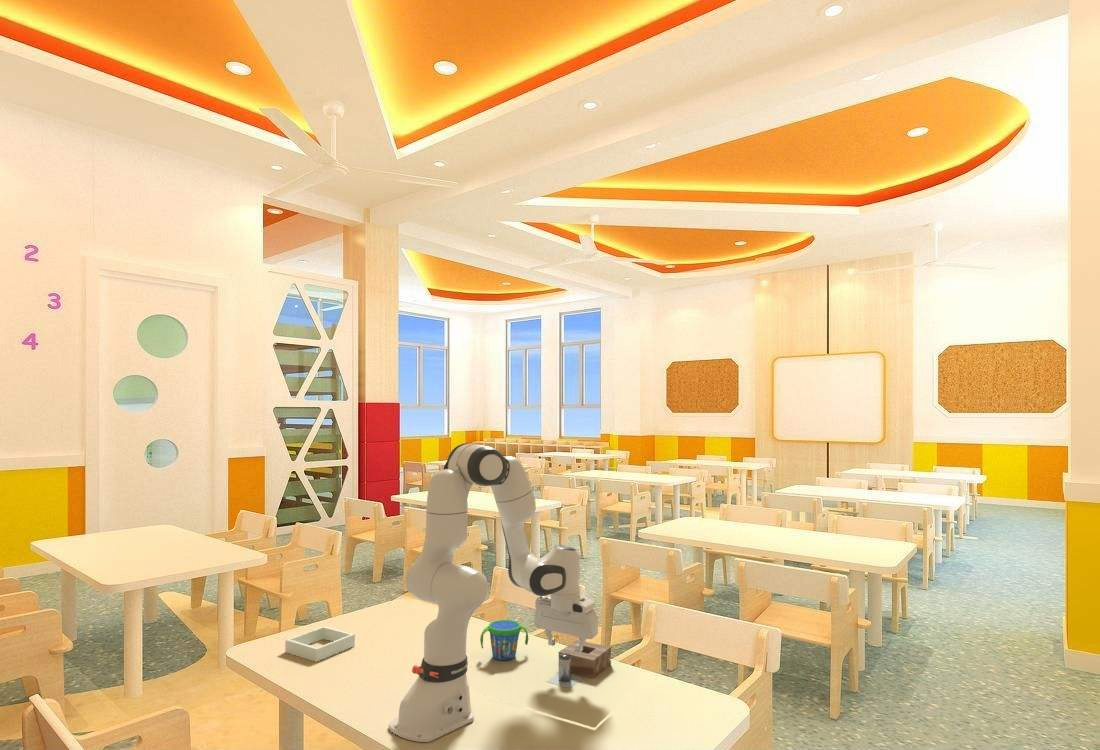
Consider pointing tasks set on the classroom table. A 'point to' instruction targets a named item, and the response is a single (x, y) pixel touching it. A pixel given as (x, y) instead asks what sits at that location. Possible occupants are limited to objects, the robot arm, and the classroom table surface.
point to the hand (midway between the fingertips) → (565, 647)
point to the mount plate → (566, 684)
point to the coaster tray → (304, 650)
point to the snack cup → (504, 638)
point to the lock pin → (564, 667)
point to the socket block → (588, 658)
